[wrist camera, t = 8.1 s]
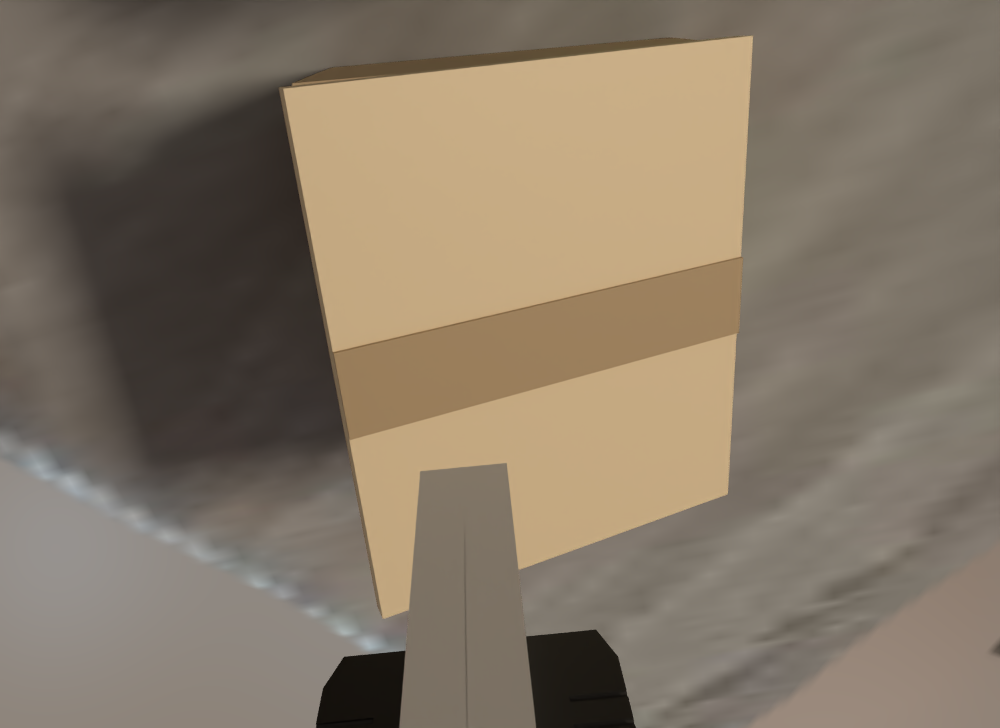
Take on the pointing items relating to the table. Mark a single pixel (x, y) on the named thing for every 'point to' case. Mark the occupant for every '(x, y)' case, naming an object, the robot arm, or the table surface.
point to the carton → (468, 60)
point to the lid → (531, 284)
